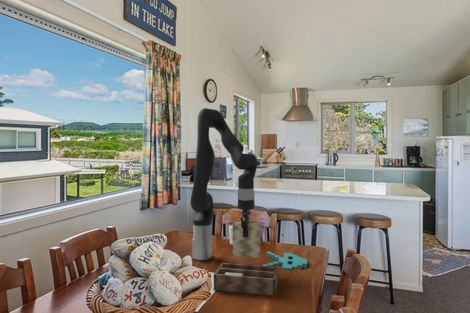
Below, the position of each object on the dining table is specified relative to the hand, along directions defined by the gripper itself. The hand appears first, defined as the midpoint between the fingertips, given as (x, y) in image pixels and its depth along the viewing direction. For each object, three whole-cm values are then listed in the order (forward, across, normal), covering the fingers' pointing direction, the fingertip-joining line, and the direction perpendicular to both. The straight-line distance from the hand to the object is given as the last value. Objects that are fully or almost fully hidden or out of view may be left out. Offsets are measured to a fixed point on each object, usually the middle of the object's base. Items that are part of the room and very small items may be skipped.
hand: (246, 235), depth 148 cm
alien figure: (+17, -14, +17) cm, 28 cm away
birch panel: (+9, 0, 0) cm, 9 cm away
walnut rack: (+16, +16, +3) cm, 23 cm away
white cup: (+17, -40, -13) cm, 45 cm away
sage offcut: (+15, +19, -2) cm, 24 cm away
